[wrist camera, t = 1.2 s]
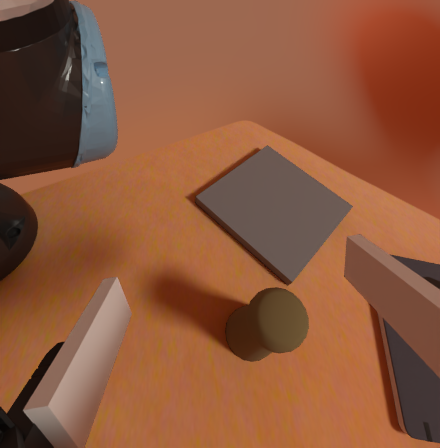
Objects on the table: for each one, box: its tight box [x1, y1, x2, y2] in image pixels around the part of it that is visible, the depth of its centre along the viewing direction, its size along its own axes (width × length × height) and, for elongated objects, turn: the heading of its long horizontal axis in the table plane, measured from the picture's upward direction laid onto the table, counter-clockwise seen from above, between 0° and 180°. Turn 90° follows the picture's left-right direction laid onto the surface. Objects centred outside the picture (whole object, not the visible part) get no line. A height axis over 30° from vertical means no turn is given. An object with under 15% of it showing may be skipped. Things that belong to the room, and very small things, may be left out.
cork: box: [225, 287, 309, 362], centre depth 24 cm, size 6×6×11 cm
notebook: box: [378, 255, 440, 443], centre depth 31 cm, size 13×2×21 cm
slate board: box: [195, 145, 353, 285], centre depth 38 cm, size 18×18×2 cm
